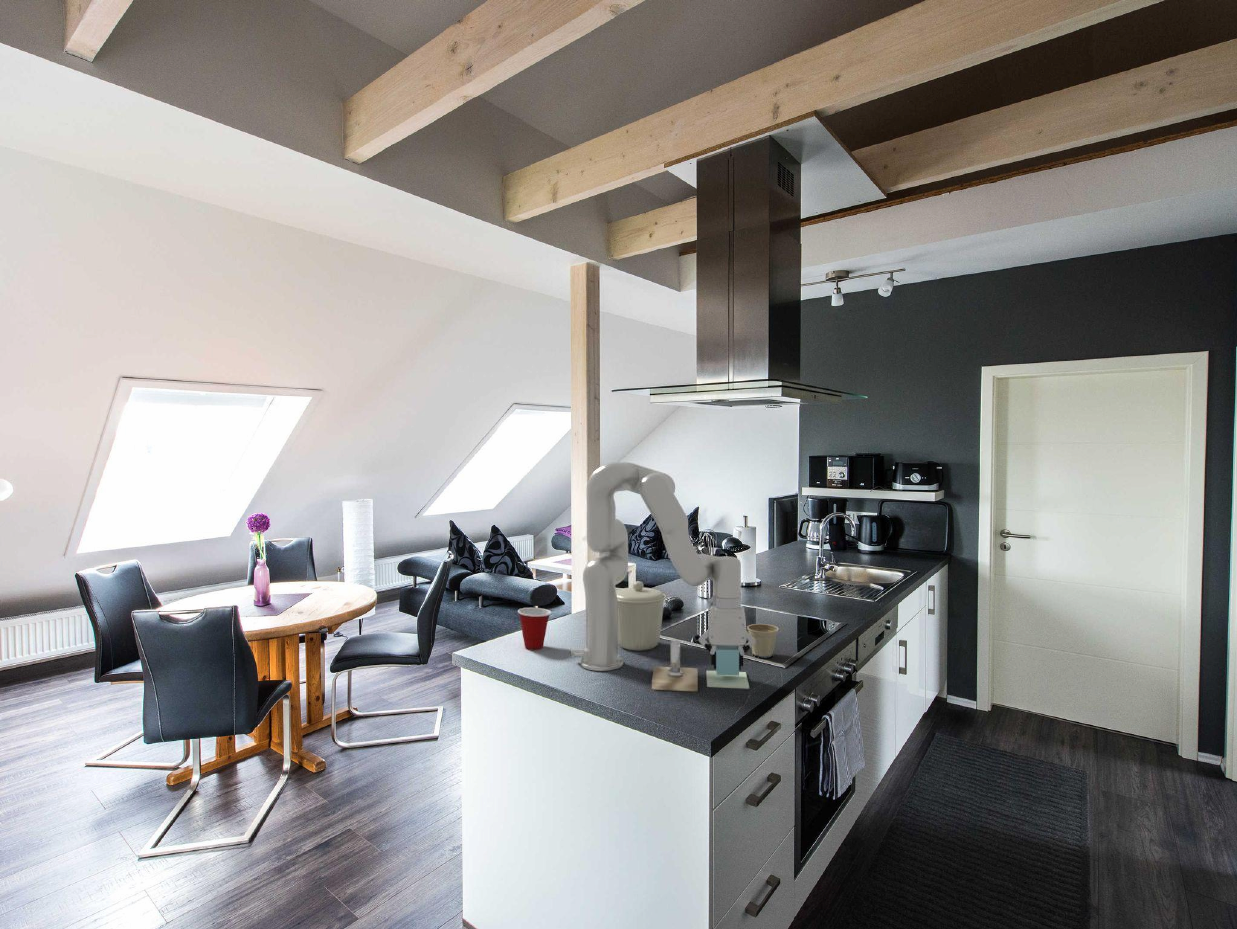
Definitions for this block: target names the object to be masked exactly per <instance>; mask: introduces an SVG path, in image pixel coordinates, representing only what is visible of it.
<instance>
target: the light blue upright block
mask: <svg viewBox="0 0 1237 929" xmlns="http://www.w3.org/2000/svg"><path fill="white" fill-rule="evenodd" d="M715 671H716V675H734V676H739V672H740V670H739V649H738V647H737V646H717V648H716V669H715Z"/></svg>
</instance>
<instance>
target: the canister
mask: <svg viewBox="0 0 1237 929" xmlns="http://www.w3.org/2000/svg"><path fill="white" fill-rule="evenodd" d="M616 594H617V601H618V646H620V647H621V648H623V649H625V650H629V651H636V652H637V651H638V652H639V651H649V650H652V649H654V648H655V647H657V646H658V645H659V642H660V637H661V629H662V625H663V624H662V622H663V613H664V606H665V604H664V603H665V600H666V599H667V595H666V594H665V593H663V592H662V591H661V590H658V589H655V588H650V587H644V583H643V582H642V581H638V580H637V581H634V582H633V583H632V587H624V588H620V589H617V590H616Z"/></svg>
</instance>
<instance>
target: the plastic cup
mask: <svg viewBox="0 0 1237 929" xmlns="http://www.w3.org/2000/svg"><path fill="white" fill-rule="evenodd" d="M517 614H518V616H519V622H520V625H521V632H522V639H523V644H524V648H525V649H526V650H529V649H537V650H541V649H543V647H544V642H545V638H546V633H547V627H548V622H549V619H550V617H551V615H552V611H551V610H549V609H546V608H541V607H523V608H519V609H518V610H517Z"/></svg>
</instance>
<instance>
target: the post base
mask: <svg viewBox="0 0 1237 929" xmlns="http://www.w3.org/2000/svg"><path fill="white" fill-rule="evenodd" d="M669 669H671V666H654V669H653V673H652V678H651V690H660V691H678V692H679V691H680V692H681V691H683V692H698V690H699V689H698V685H699V684H698V683H699V682H698V678H699V677H698V674H699V673H698V671H699V670H698V668H696V667H695V668H694V667H680V670H682V671H683V676H681V677H670V676H668V670H669Z"/></svg>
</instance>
